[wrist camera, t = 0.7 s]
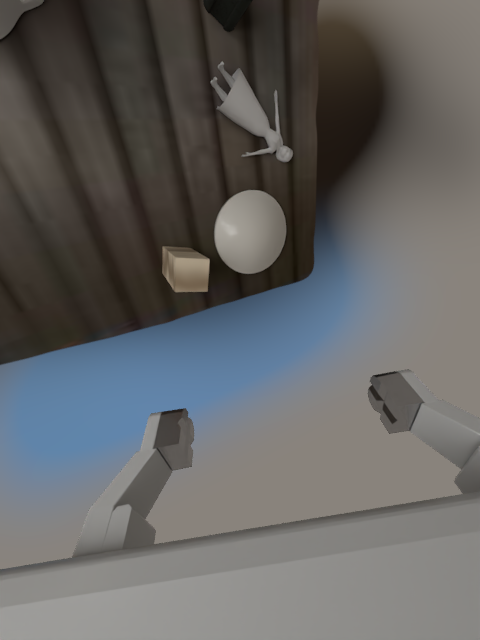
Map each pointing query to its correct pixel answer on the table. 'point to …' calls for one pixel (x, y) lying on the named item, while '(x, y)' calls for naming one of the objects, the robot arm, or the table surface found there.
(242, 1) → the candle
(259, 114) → the woman figurine
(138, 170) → the table surface
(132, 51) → the table surface
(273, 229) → the plate
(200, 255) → the maple block
